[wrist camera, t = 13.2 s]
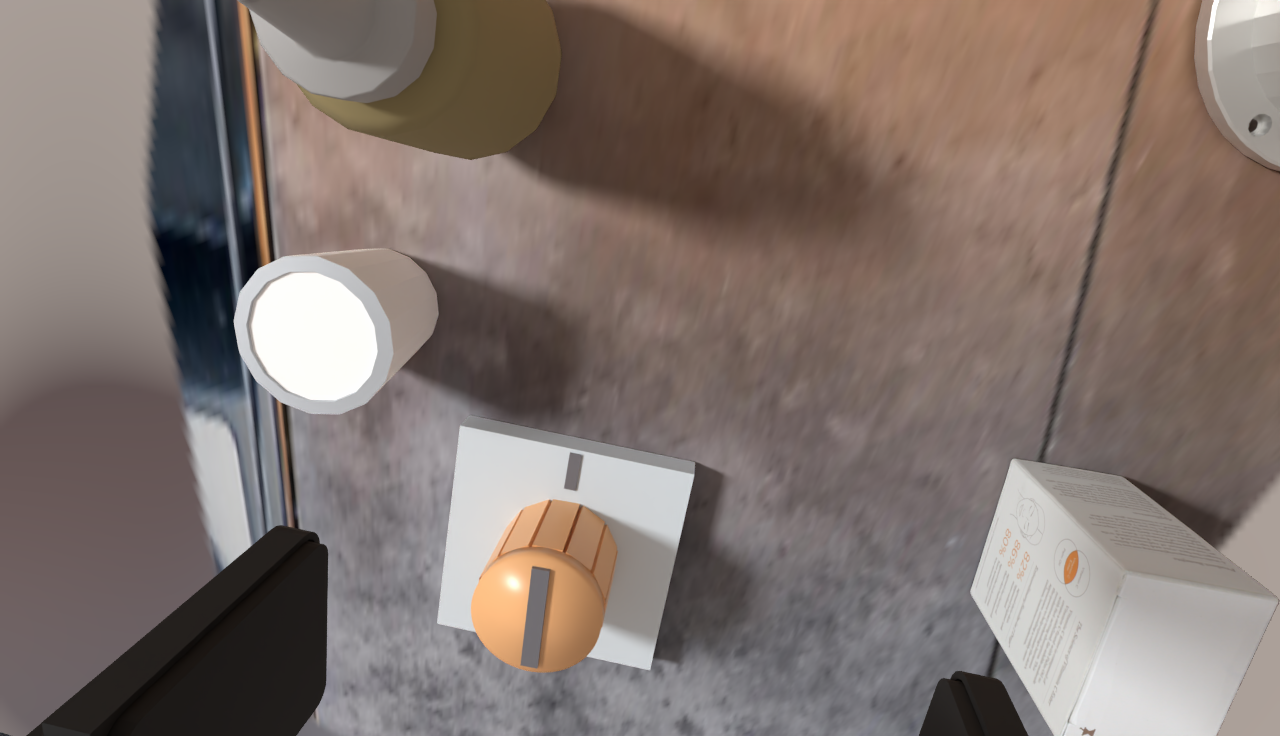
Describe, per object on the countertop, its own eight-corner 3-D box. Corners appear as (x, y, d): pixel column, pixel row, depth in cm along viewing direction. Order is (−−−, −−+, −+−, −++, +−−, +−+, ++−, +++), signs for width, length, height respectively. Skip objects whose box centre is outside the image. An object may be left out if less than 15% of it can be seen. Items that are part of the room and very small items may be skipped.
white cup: (467, 355, 37) (413, 401, 30) (344, 379, 38) (265, 428, 31) (428, 221, 35) (362, 239, 28) (300, 250, 36) (207, 273, 29)
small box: (1072, 610, 38) (1203, 777, 28) (965, 591, 38) (1056, 750, 28) (1125, 472, 35) (1289, 600, 25) (1010, 453, 36) (1127, 572, 26)
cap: (608, 610, 39) (591, 686, 33) (499, 590, 39) (464, 662, 33) (623, 511, 37) (608, 574, 31) (509, 491, 37) (474, 549, 32)
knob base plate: (695, 462, 37) (692, 513, 32) (651, 652, 41) (643, 725, 36) (469, 414, 38) (430, 458, 32) (446, 607, 41) (408, 673, 36)
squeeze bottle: (606, 115, 33) (492, 78, 16) (452, 186, 34) (195, 222, 17) (530, -69, 31) (307, -339, 14) (371, 15, 32) (-7, -134, 15)
